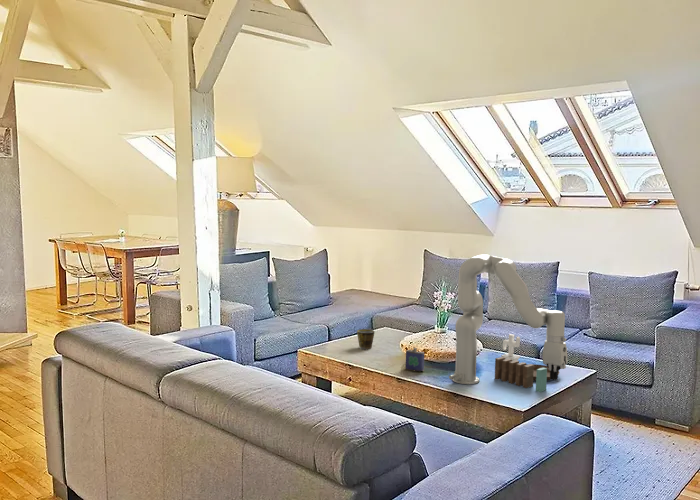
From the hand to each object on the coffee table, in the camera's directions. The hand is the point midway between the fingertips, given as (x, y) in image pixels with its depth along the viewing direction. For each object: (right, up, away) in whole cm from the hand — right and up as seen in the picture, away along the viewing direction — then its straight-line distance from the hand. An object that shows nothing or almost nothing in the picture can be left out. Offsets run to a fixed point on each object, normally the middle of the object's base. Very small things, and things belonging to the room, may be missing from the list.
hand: (553, 379), depth 280 cm
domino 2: (-16, -5, +20) cm, 26 cm away
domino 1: (-19, -4, +23) cm, 30 cm away
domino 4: (-11, -5, +14) cm, 18 cm away
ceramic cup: (-82, +1, +77) cm, 113 cm away
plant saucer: (+1, -5, +28) cm, 28 cm away
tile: (-4, -6, +5) cm, 9 cm away
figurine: (-6, -2, +52) cm, 52 cm away
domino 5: (-8, -6, +11) cm, 15 cm away
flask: (-58, -3, +35) cm, 68 cm away
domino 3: (-13, -5, +17) cm, 22 cm away
